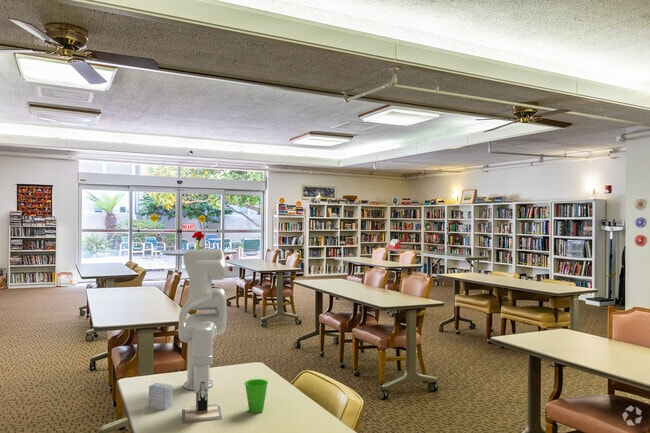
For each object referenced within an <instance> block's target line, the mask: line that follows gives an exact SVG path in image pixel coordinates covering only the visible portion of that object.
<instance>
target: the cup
mask: <svg viewBox="0 0 650 433" xmlns="http://www.w3.org/2000/svg"><path fill="white" fill-rule="evenodd" d="M268 384H269V381H268V380H266V379H264V378H263V379H262V378H252V379H248V380H245V382H244V384H243V385H244V386H245V391H246V392H245V393H246V401H247V407H248V411H249V413H252V414H262V413H263V411H264V406H265V400H266V395H267V388H268Z"/></svg>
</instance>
